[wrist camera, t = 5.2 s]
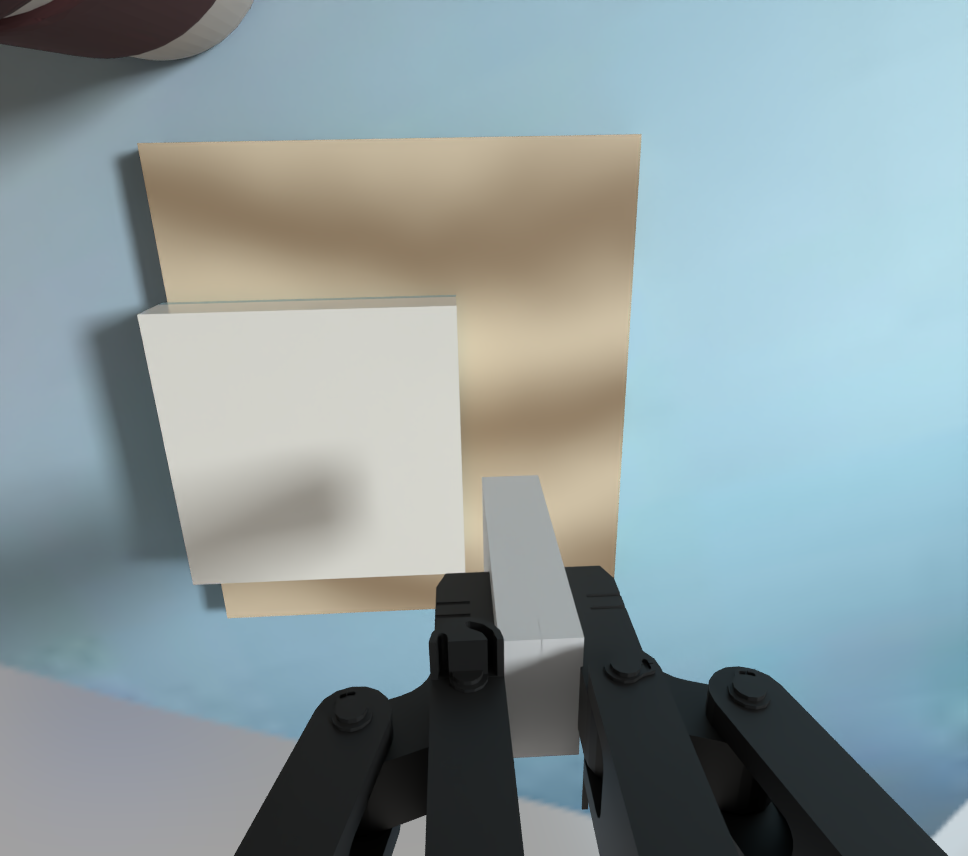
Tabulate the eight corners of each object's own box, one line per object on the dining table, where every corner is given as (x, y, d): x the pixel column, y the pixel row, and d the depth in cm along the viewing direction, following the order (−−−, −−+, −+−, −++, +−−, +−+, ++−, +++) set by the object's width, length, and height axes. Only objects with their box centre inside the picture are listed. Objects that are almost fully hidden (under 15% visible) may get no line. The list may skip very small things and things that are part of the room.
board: (152, 144, 22) (137, 143, 21) (631, 135, 23) (641, 134, 22) (236, 600, 29) (227, 618, 27) (606, 584, 29) (612, 600, 28)
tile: (455, 294, 23) (162, 302, 23) (456, 305, 21) (137, 314, 21) (464, 545, 27) (211, 555, 26) (465, 573, 25) (193, 584, 25)
